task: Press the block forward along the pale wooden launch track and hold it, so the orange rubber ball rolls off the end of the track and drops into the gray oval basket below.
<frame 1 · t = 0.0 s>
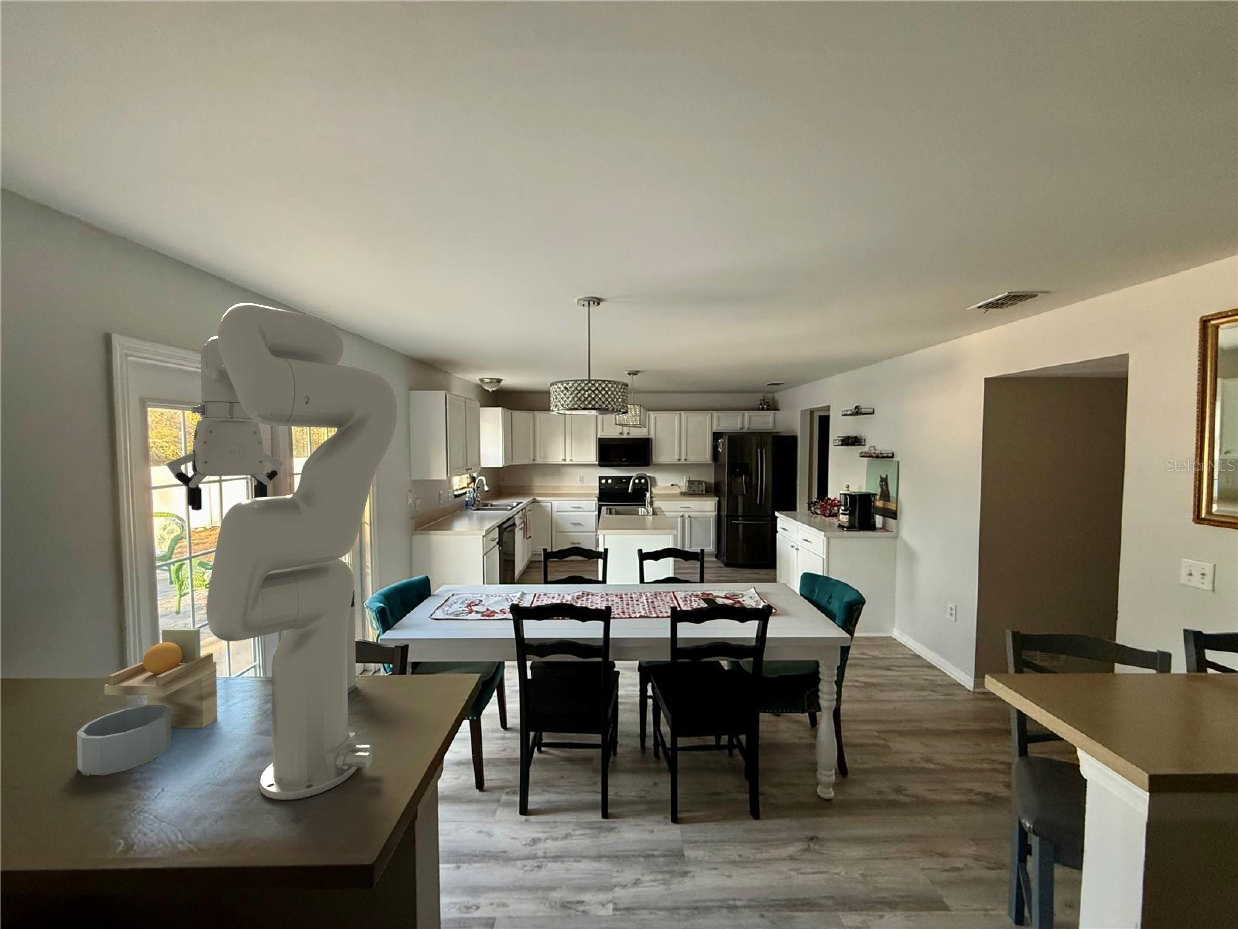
hand: (229, 507, 96), 37 cm above the counter, tool pointing down, fingers open, 9 cm apart
launch track: (164, 733, 88), on the counter
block: (183, 644, 92), point 14 cm above the counter, slide at 0.0 cm
travel mug: (338, 691, 104), on the counter
gray oval basket: (126, 755, 81), on the counter
ball: (163, 658, 88), point 13 cm above the counter, touching launch track
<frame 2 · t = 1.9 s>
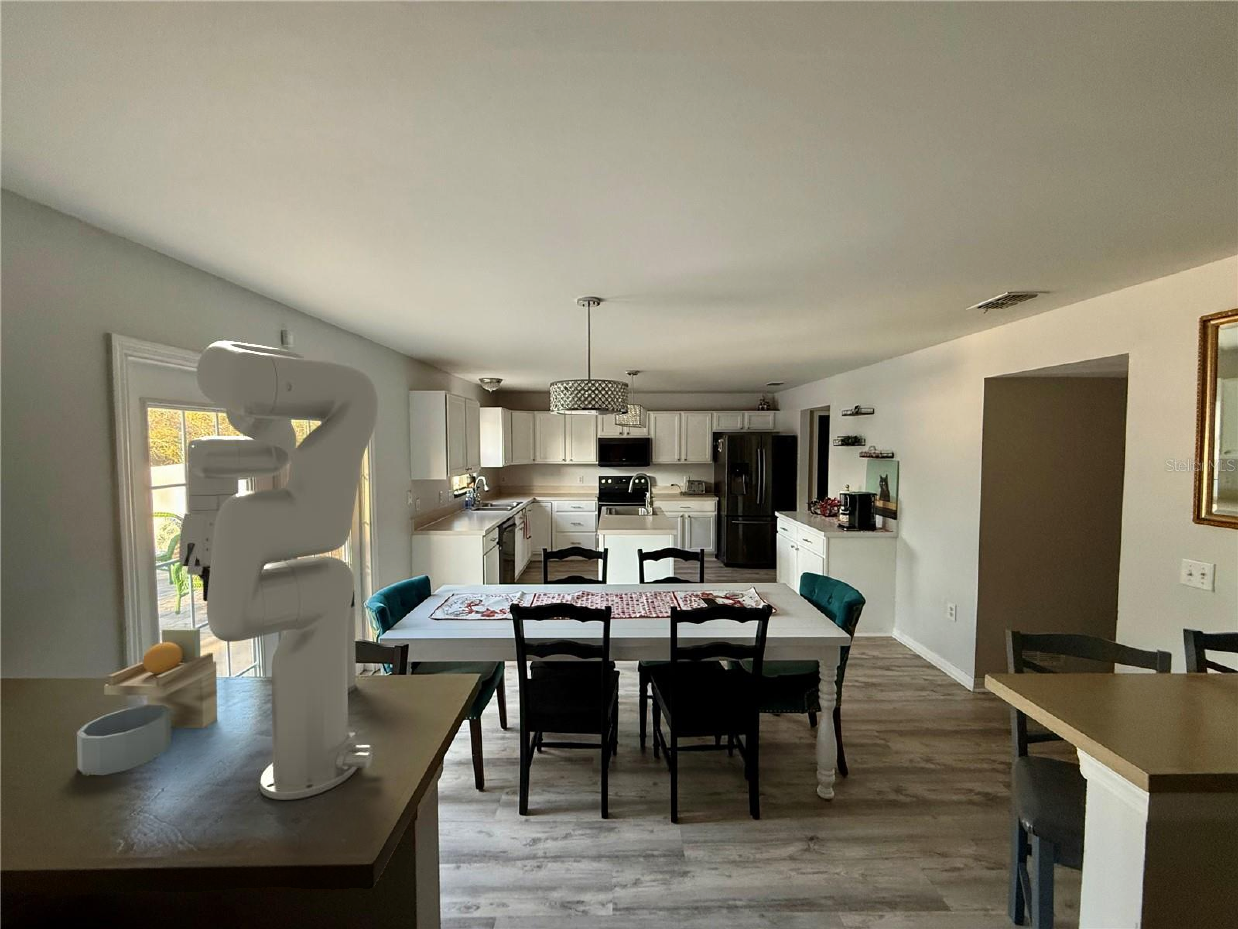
hand: (214, 600, 99), 19 cm above the counter, tool pointing down, fingers closed
nothing on the counter moved.
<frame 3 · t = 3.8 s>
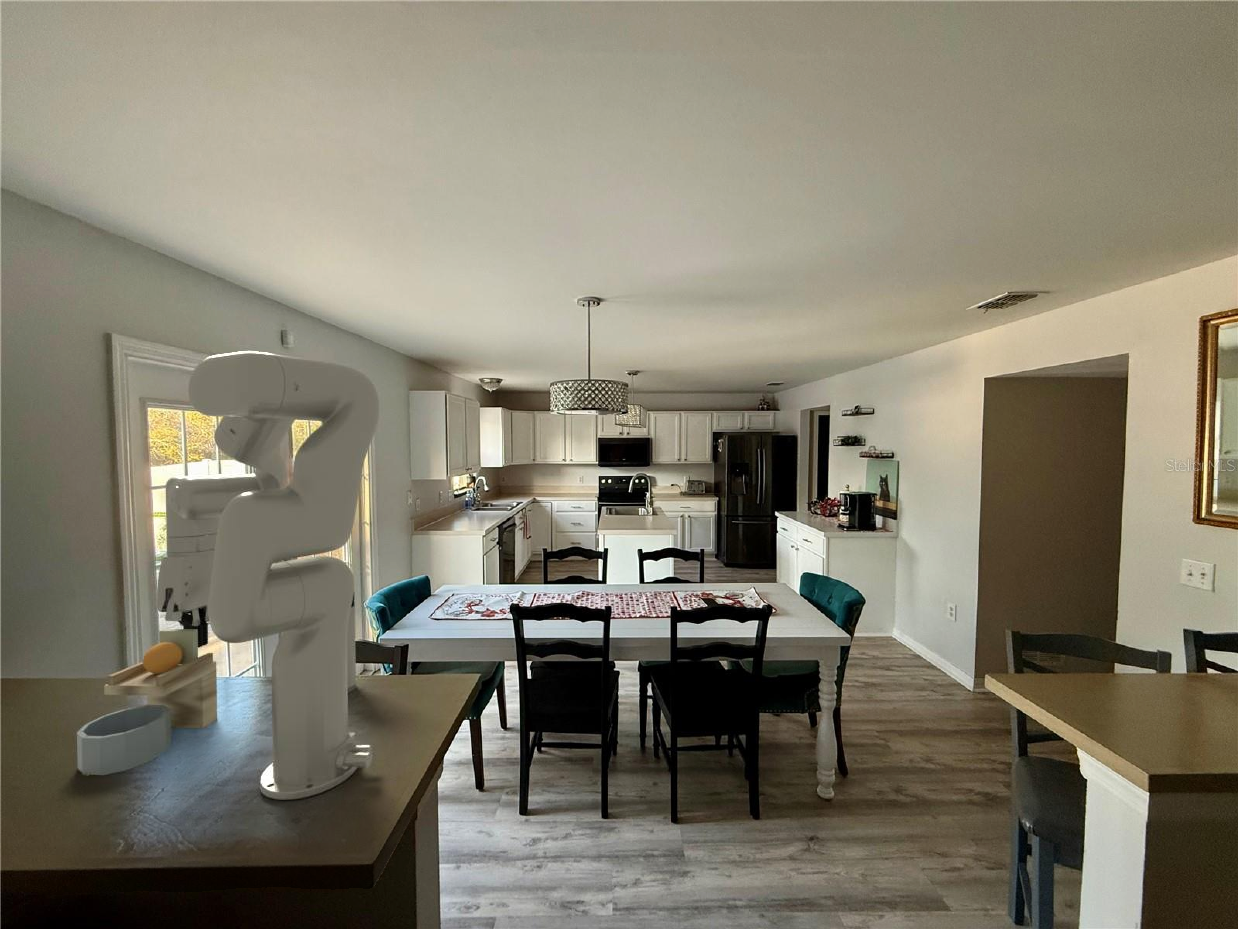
hand: (196, 645, 94), 13 cm above the counter, tool pointing down, fingers closed
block: (180, 645, 91), point 14 cm above the counter, slide at 0.5 cm, touching ball, gripper
ball: (163, 658, 88), point 13 cm above the counter, touching launch track, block
everything else where it was.
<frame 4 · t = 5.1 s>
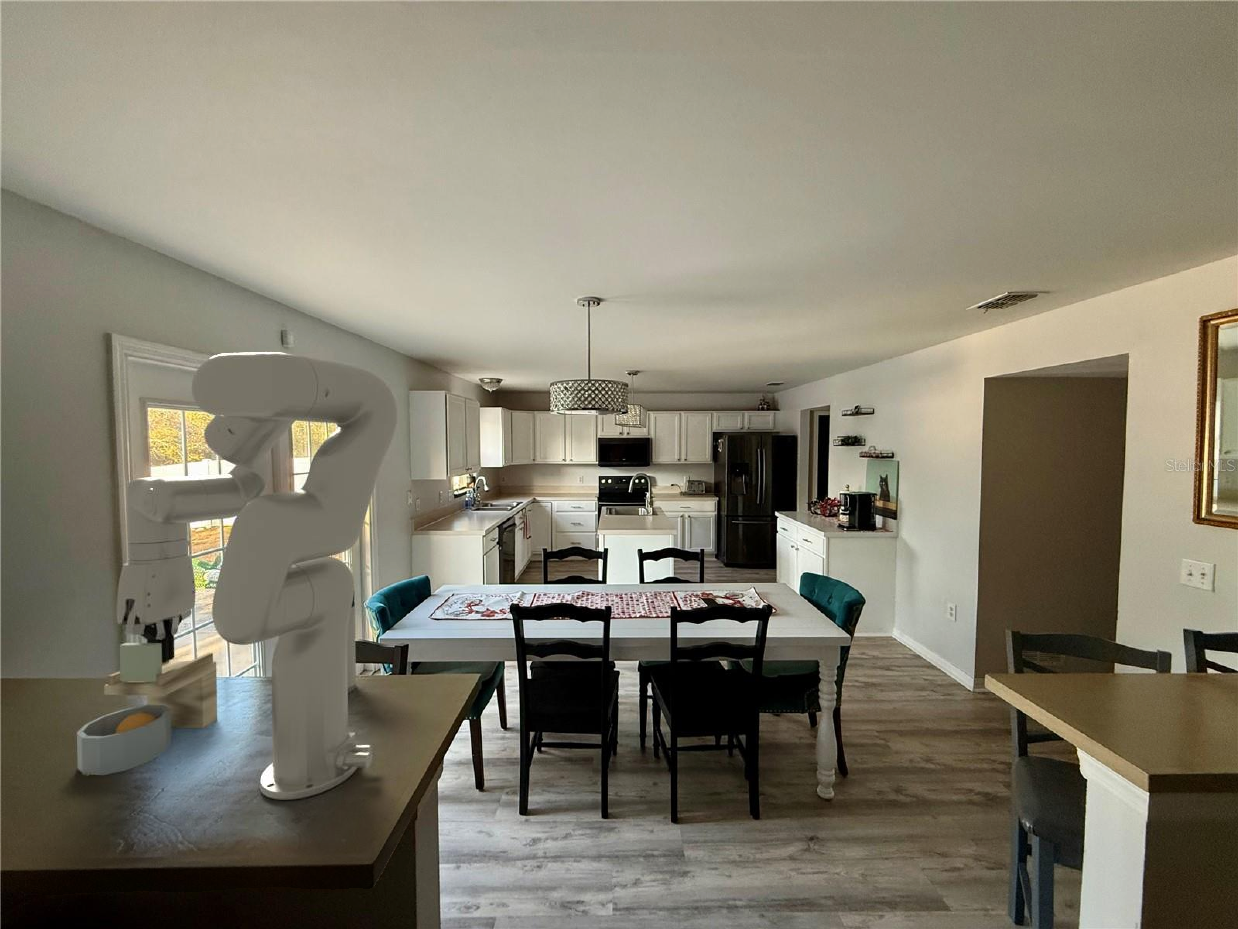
hand: (161, 660, 87), 13 cm above the counter, tool pointing down, fingers closed
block: (143, 661, 84), point 14 cm above the counter, slide at 7.4 cm, touching gripper
ball: (136, 730, 83), point 3 cm above the counter, tilted 101°, touching gray oval basket
everything else where it was.
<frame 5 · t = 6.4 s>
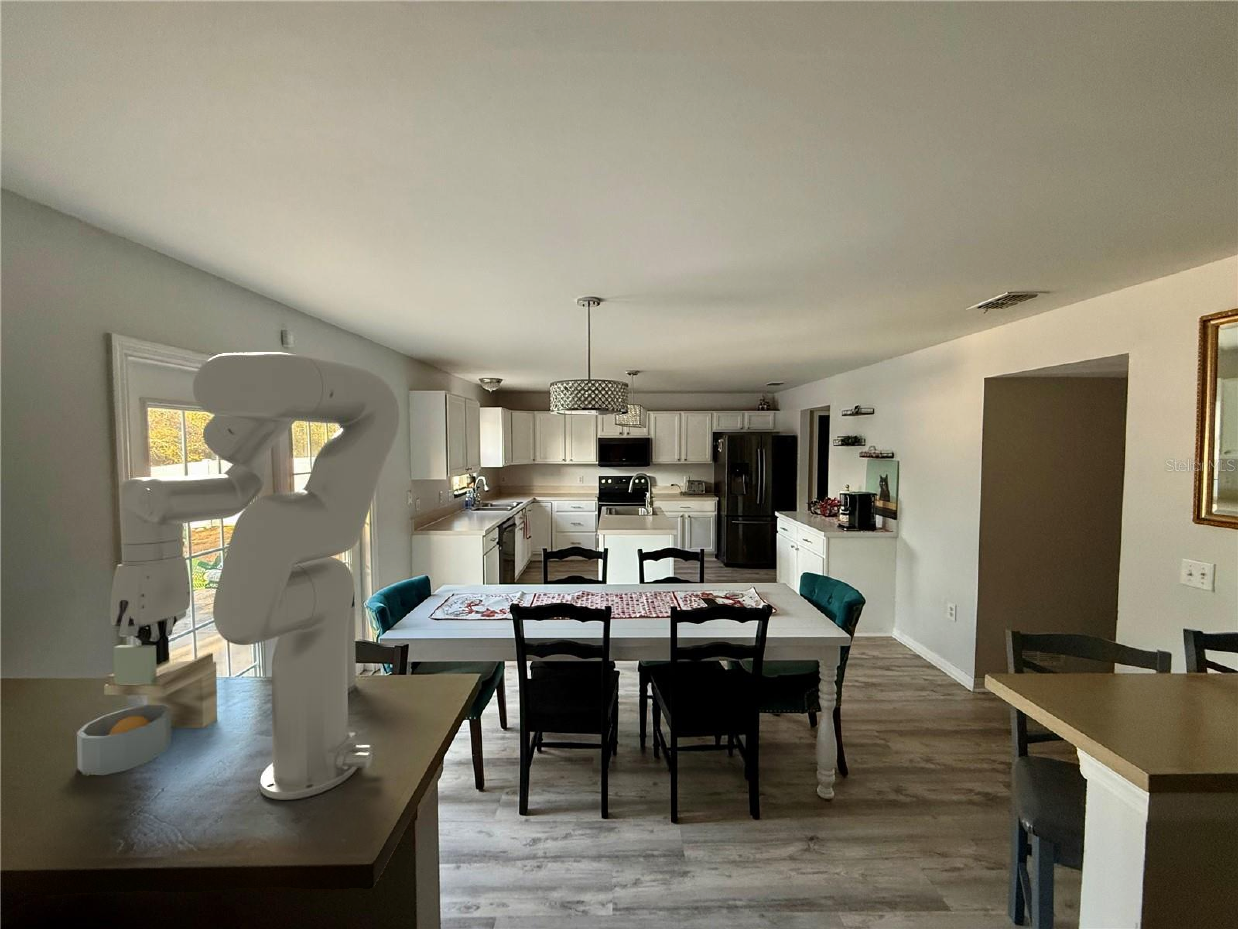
hand: (155, 662, 86), 13 cm above the counter, tool pointing down, fingers closed
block: (137, 663, 83), point 14 cm above the counter, slide at 8.3 cm, touching gripper
ball: (130, 733, 82), point 3 cm above the counter, tilted 125°, touching gray oval basket
everything else where it was.
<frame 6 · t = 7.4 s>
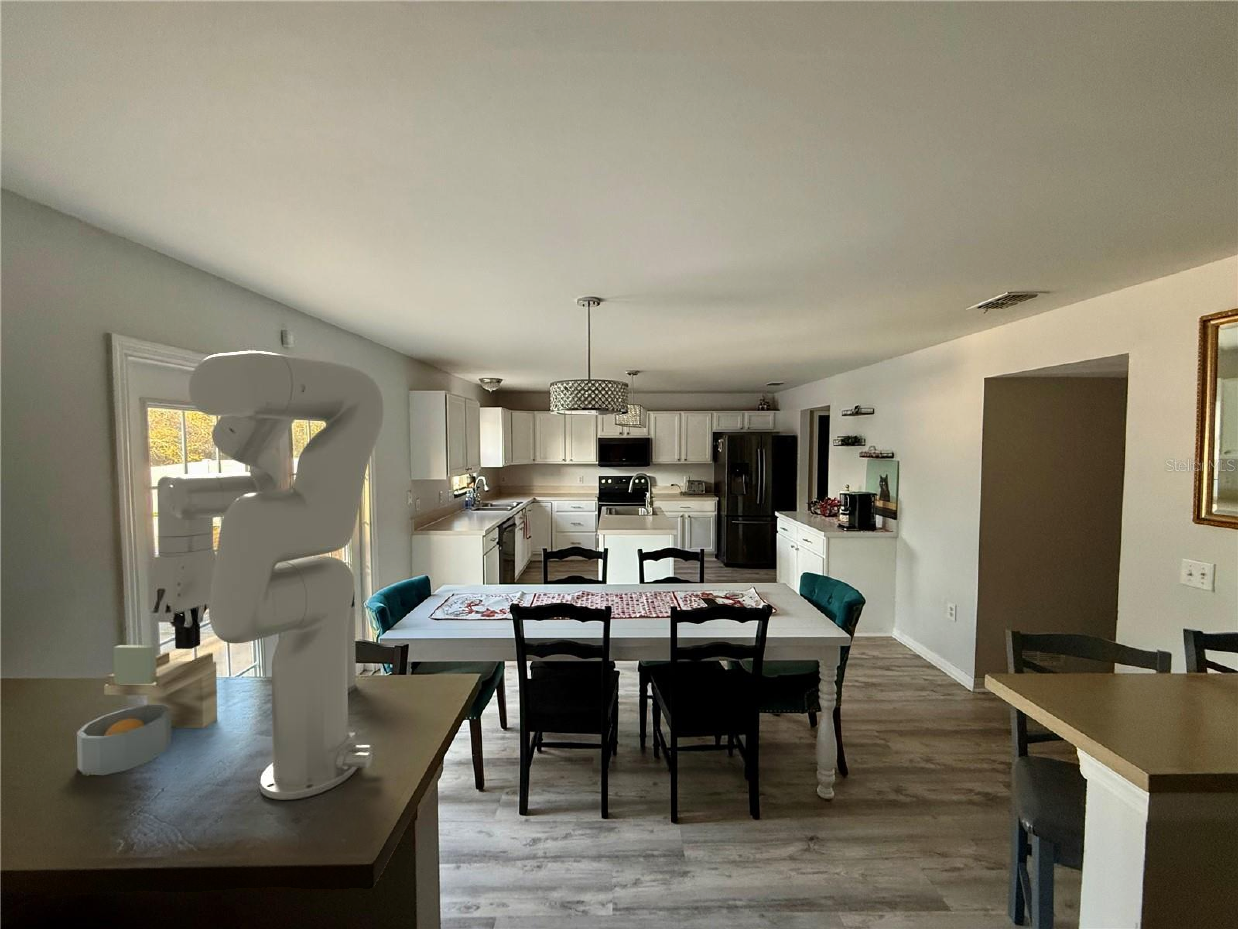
hand: (187, 647, 93), 13 cm above the counter, tool pointing down, fingers closed
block: (137, 663, 83), point 14 cm above the counter, slide at 8.3 cm
ball: (125, 736, 81), point 3 cm above the counter, tilted 144°, touching gray oval basket
everything else where it was.
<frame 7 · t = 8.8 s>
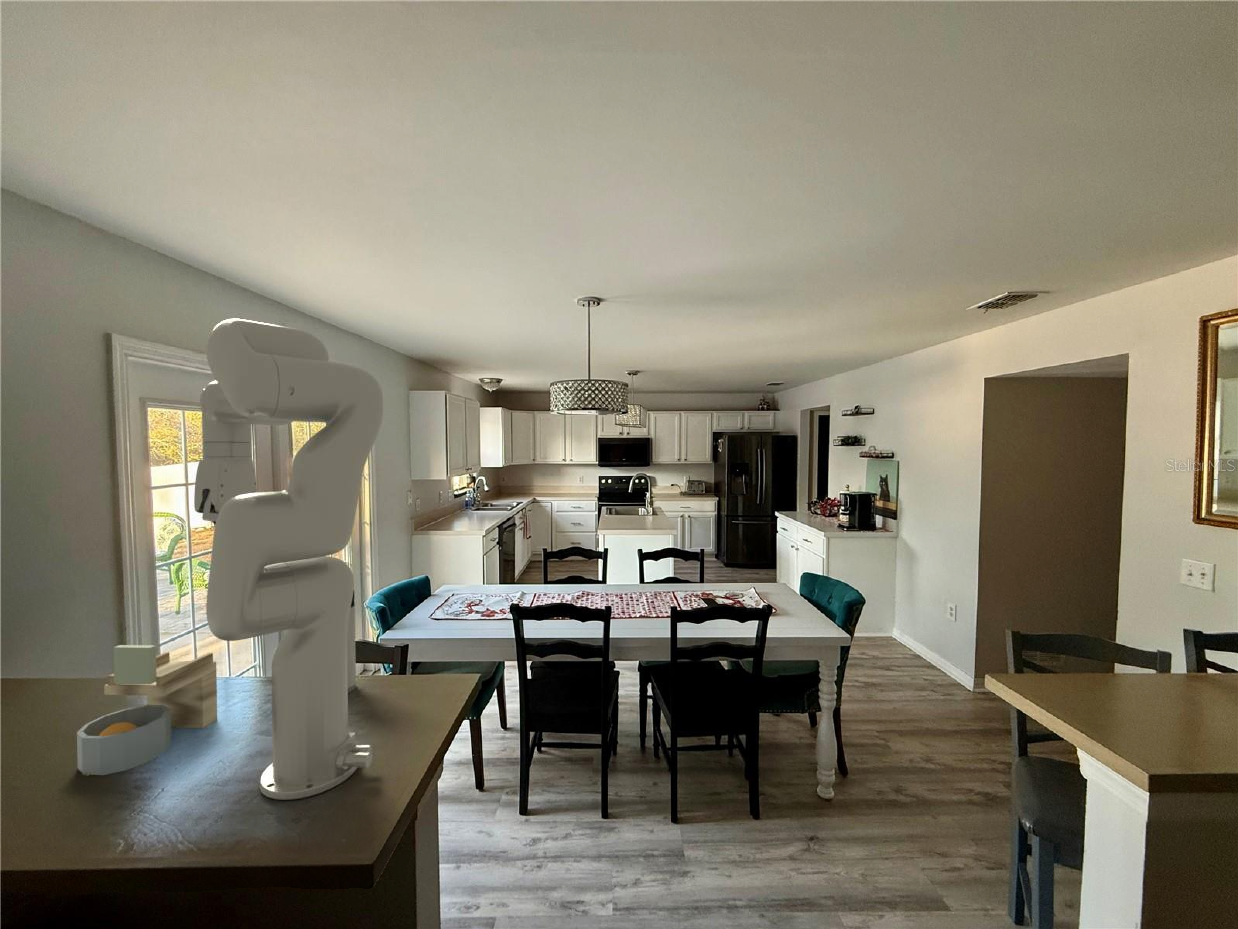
hand: (229, 548, 99), 29 cm above the counter, tool pointing down, fingers closed
ball: (117, 740, 80), point 3 cm above the counter, tilted 171°, touching gray oval basket
everything else where it was.
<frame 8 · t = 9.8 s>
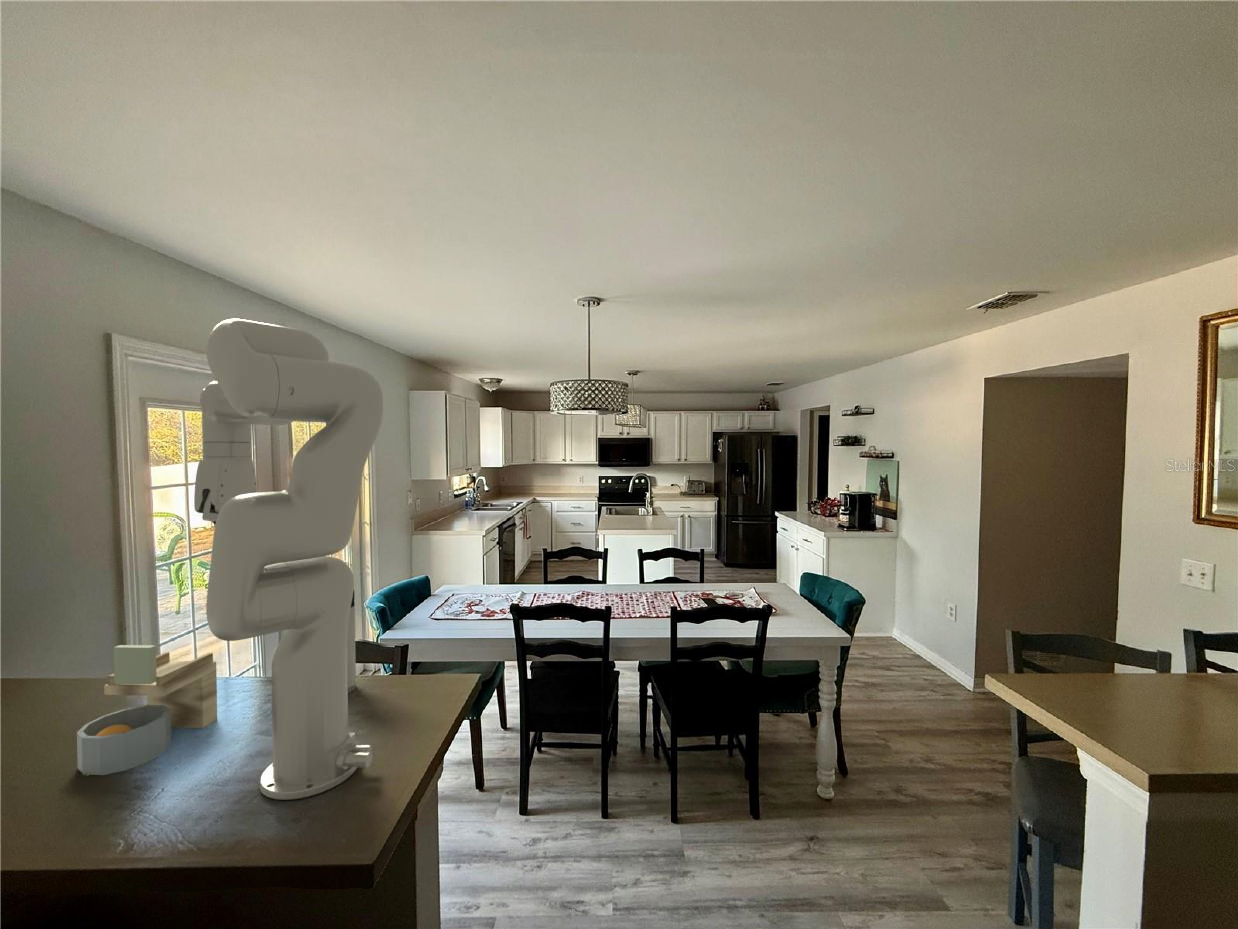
hand: (229, 548, 99), 29 cm above the counter, tool pointing down, fingers closed
at the end: ball inside the target area on the gray oval basket (2.0 cm from its centre), point 3.1 cm above the gray oval basket's base; ball moved 12.9 cm from its start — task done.
